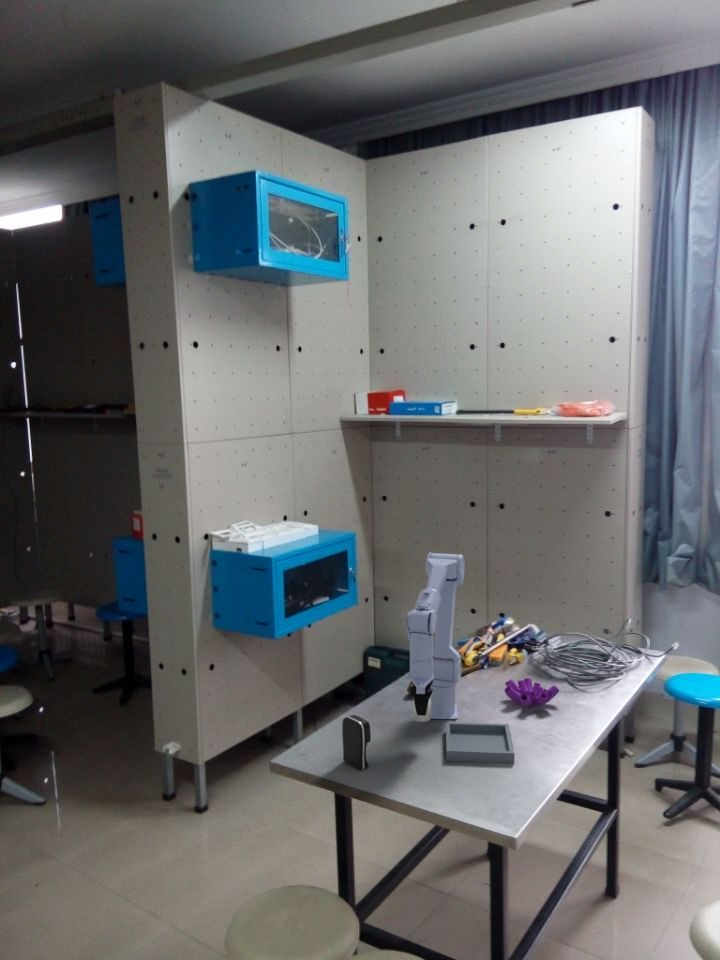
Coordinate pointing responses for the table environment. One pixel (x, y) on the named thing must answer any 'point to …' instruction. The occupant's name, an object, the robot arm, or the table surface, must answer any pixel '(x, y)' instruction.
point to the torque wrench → (461, 673)
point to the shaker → (420, 717)
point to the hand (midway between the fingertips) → (421, 710)
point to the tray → (479, 742)
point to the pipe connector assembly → (529, 692)
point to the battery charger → (355, 741)
